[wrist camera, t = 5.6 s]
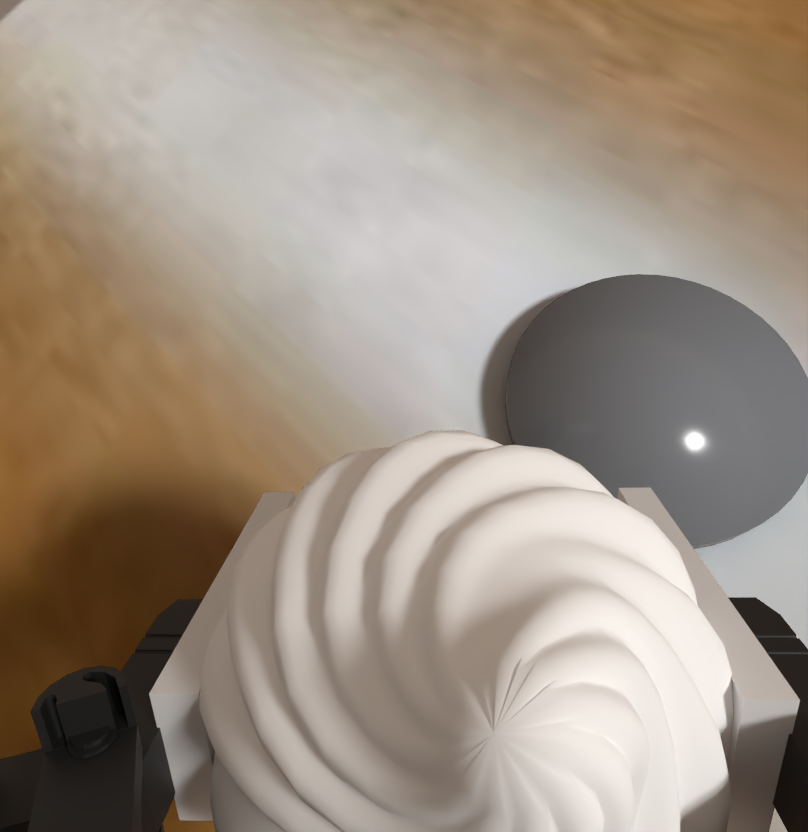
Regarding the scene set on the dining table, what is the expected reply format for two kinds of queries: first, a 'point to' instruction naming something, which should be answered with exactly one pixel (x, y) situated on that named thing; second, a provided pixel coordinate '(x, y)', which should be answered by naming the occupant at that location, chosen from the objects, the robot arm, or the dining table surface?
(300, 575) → the soft serve ice cream cone
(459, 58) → the dining table surface
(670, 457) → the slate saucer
